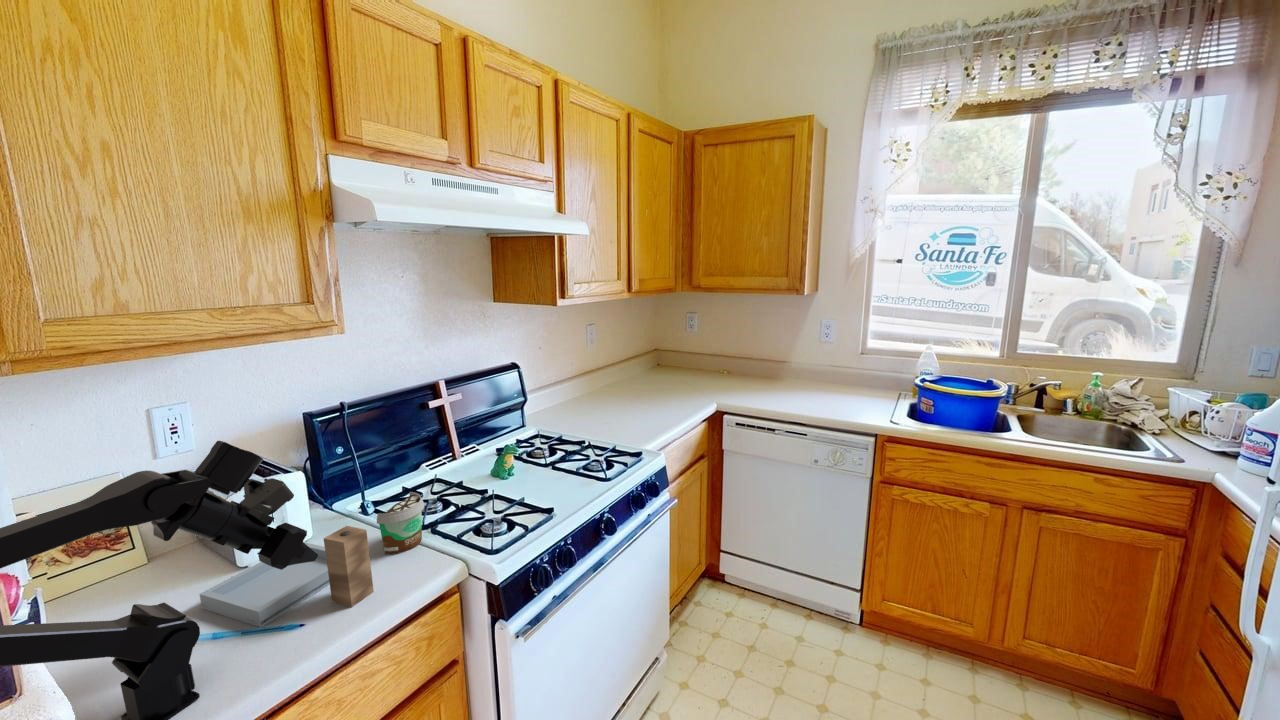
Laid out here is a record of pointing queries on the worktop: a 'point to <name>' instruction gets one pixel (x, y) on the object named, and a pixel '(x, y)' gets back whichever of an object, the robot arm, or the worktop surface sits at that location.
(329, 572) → the block
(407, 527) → the food container
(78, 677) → the worktop surface
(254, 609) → the tray
